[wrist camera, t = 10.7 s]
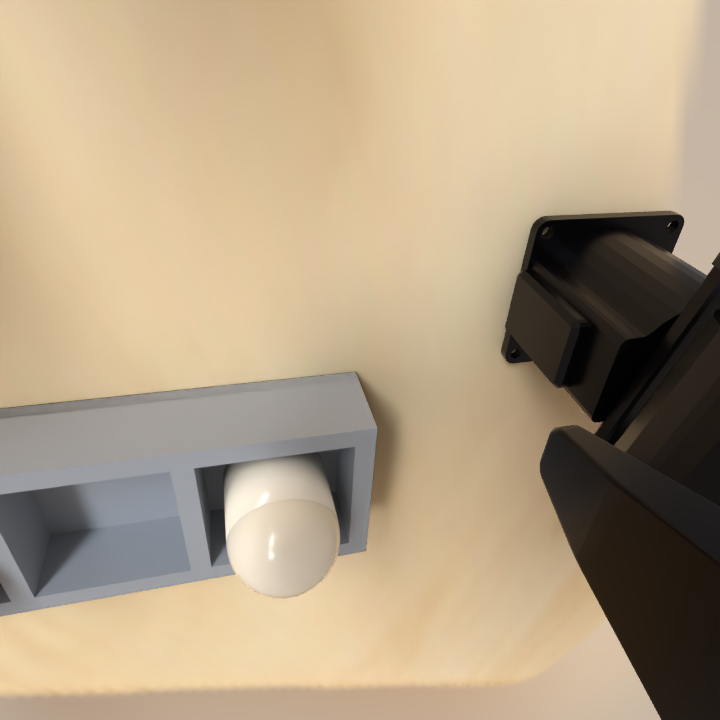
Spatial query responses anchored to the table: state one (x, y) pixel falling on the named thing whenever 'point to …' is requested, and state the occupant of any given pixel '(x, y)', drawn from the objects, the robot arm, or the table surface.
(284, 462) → the cream egg
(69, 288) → the table surface
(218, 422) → the egg tray
